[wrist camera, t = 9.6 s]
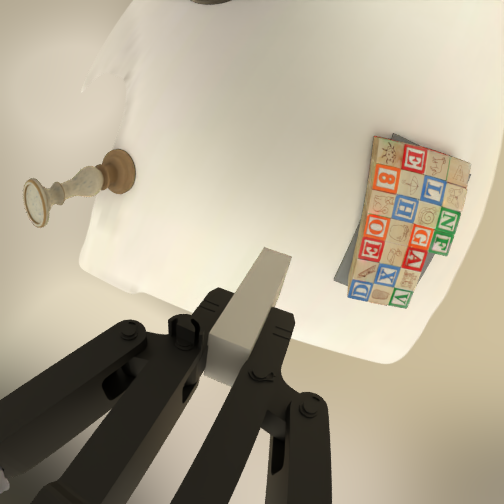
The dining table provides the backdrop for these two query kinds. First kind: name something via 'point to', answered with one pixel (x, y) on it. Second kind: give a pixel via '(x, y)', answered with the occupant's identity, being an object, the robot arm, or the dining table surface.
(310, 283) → the dining table surface
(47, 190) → the candle holder
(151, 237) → the dining table surface
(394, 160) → the stack of blocks
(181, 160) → the dining table surface
